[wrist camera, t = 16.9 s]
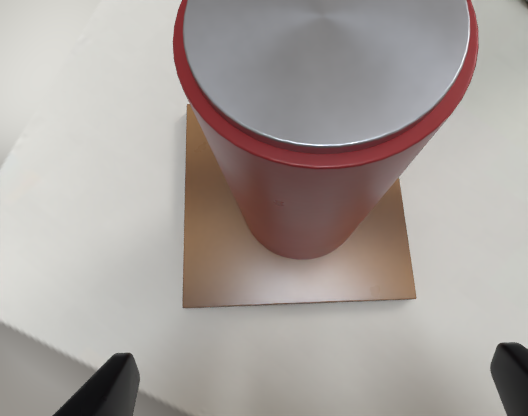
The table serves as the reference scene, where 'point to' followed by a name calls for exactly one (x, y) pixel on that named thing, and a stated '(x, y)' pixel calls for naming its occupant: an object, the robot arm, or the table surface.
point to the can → (320, 103)
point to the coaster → (275, 266)
